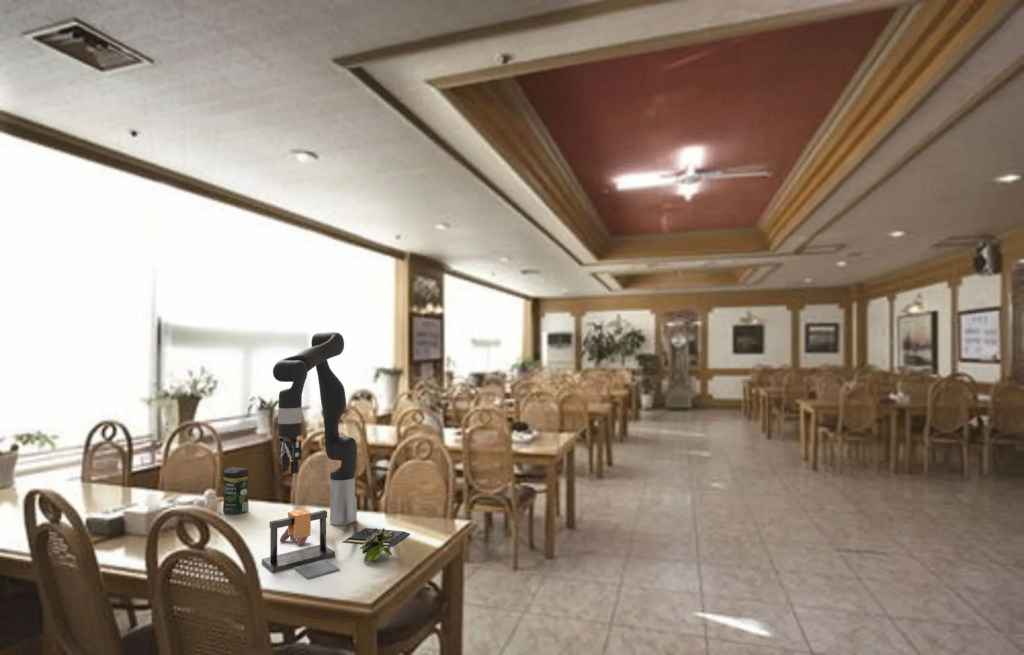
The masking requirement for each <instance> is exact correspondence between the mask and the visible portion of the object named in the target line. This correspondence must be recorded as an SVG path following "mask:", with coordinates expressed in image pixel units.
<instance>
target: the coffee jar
mask: <svg viewBox="0 0 1024 655" xmlns="http://www.w3.org/2000/svg"><path fill="white" fill-rule="evenodd" d="M249 476H250V473H249V469H248V468H245V467H244V468H243V467H235V466H232V467H229V468H225V469H224V471H223V478H222V479H223V484H224V489H223V490H224V492H223V502H222V503H223V504H222V513H223V514H226V513H227V515H242V513H243V514H245V513H247V512H248V511H249V510H250V509H249V489H248V485H249V484H248V483H249Z"/></svg>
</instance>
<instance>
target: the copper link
mask: <svg viewBox="0 0 1024 655" xmlns="http://www.w3.org/2000/svg"><path fill="white" fill-rule="evenodd" d="M311 513H312V512H310V511H307V510H306V509H304V508H303V509H302V508H301V509H297V510H293V511H292V510H291V511H288V512H287V518H289V517H291V518H293V519H294V525H290V526H287V528H288V535H292V534H294V539H296V540H297V539H298V538H302V537H306V536H308V537H310V536H311V522H312V521H311Z"/></svg>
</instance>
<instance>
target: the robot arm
mask: <svg viewBox="0 0 1024 655" xmlns="http://www.w3.org/2000/svg"><path fill="white" fill-rule="evenodd" d="M310 344H311V346H310V347H307V348H306V349H303V350H300V351H299V352H298V353H296V354H295V355H293V356H292V355H291V356H289V357H285V358H282V359H280V360H278V361H277V362H275V365H274V366H273V369H272V375H273V378H274V379H275V380H276V381H278V382H281V383H288V382H289V383H292V384H291V387H289V388H285V389H282V390H280V391H279V393H278V411H277V437H278V455H279V456H280V458H281V470H288V469H289V470H290V474H293V475H294V474H298V473H299V462H300V461H301V460H302V441H301V440H299V441H298V438H299V437H301V436H302V435H303V409H302V408H303V406H302V404H303V403H302V397H303V396H302V395H303V391H304V387H305V383H306V380H307V377H308V372H310V370H311V371H312V369H313V368H315V369H316V373H317V380H318V385H319V386H318V387H319V395H320V396H319V397H320V404H321V408H322V418H323V425H324V426H323V427H324V447H325V453H326V456H327V458H328V459H329V460H331V461H341V462H340V467H339V468H335V469H332V470H331V471H330V473H329V474H330V476H329V477H330V478H329V479H330V480H329V483H330V484H329V488H330V489H329V497H330V498H329V500H330V501H329V523H330V525H333V526H344V525H345V526H346V525H349V524H352V523H355V522H357V520H358V519H357V517H358V514H357V511H358V510H357V509H358V506H357V504H358V503H357V501H358V500H357V499H358V498H357V496H355V489H356V488H355V486H356V484H355V483H356V482H355V478H356V477H355V474H356V470H357V455H358V444H357V441H356V439H355V438H354V437H351V436H350V437H349V436H340V433H339V424H340V420H341V418H342V415H343V414H344V412H345V409H346V406H347V399H346V391H345V387H344V385H343V383H342V381H340V378H338V377H337V375H336V374H335V373H334V372H333V370H332V369H331V368H330V365H329V362H328V360H329V359H332V358H334V357H338V356H340V355H341V354H342V353H343V351H344V350H345V341H344V337H343V335H342V334H341V333H340V332H335V331H332V332H331V331H330V332H319V333H318V332H317V333H314V334H313V335H312V337H311V343H310Z"/></svg>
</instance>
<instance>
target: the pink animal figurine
mask: <svg viewBox="0 0 1024 655" xmlns="http://www.w3.org/2000/svg"><path fill="white" fill-rule="evenodd" d="M308 538H309V536H306V537H302V538H298V539H294V534H292V535H288V527H287V528H286V530H285V531H284V532H283V534H281V536H280V539H279V541H280V543H284V542H286V541H287V540H288V539H289V540H290V541H293V542H295V541H297V545H298V546H299V547H301V546H302V545H304V544H305V542H306V541H307V540H308Z"/></svg>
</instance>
